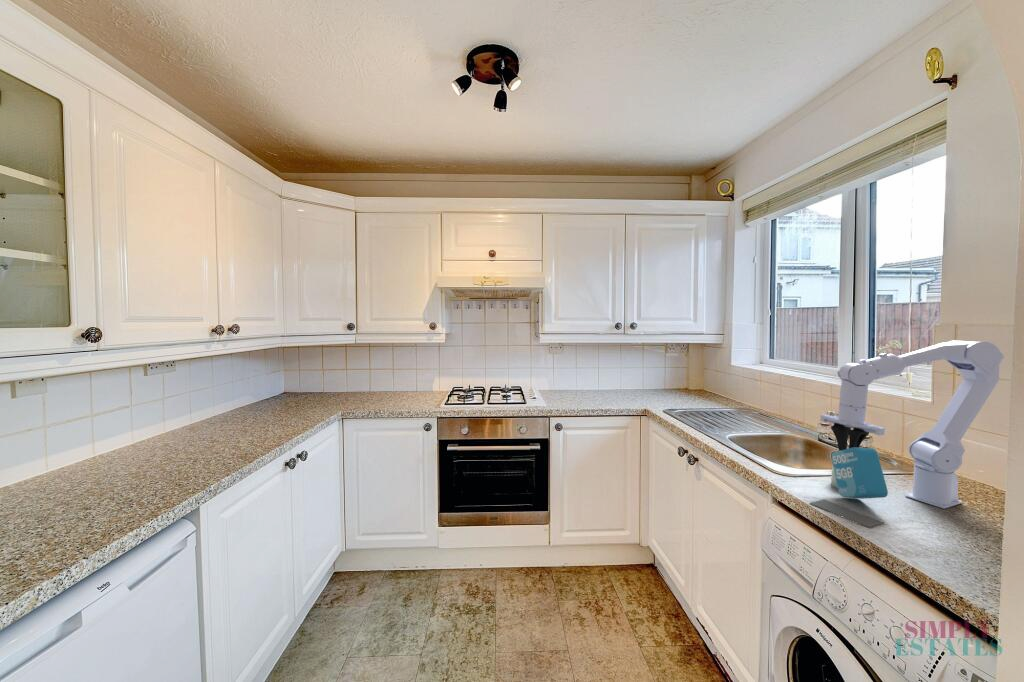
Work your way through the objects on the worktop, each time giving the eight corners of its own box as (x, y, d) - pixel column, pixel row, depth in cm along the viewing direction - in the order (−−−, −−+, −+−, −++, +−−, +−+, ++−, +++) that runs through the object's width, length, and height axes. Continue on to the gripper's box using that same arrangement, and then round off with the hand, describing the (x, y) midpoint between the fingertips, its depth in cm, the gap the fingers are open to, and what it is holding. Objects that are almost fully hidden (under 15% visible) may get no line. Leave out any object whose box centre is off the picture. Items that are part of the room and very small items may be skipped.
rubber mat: (824, 500, 105) (824, 499, 105) (884, 523, 93) (884, 522, 93) (809, 504, 103) (809, 502, 103) (869, 528, 91) (869, 526, 91)
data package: (839, 497, 108) (829, 452, 112) (858, 498, 107) (847, 454, 111) (869, 495, 97) (856, 446, 101) (890, 497, 96) (876, 447, 101)
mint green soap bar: (838, 481, 118) (839, 465, 118) (862, 489, 113) (863, 472, 112) (826, 484, 116) (827, 468, 116) (850, 492, 110) (850, 475, 110)
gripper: (815, 400, 115) (811, 445, 116) (875, 412, 102) (870, 463, 103) (830, 399, 118) (826, 443, 119) (891, 411, 104) (885, 460, 105)
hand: (847, 452), depth 111 cm, fingers closed
